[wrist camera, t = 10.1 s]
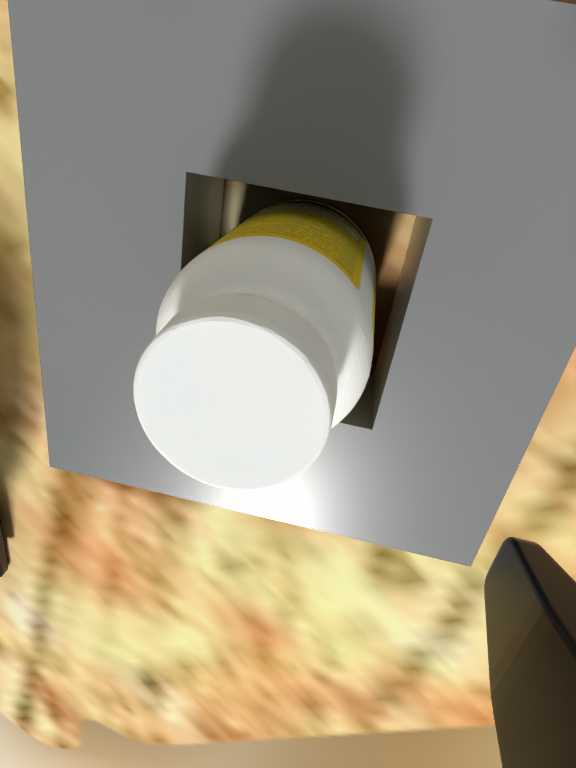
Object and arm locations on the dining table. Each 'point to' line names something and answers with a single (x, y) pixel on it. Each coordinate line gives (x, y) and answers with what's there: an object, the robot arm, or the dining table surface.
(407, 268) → the socket block
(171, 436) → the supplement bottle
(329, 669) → the dining table surface
